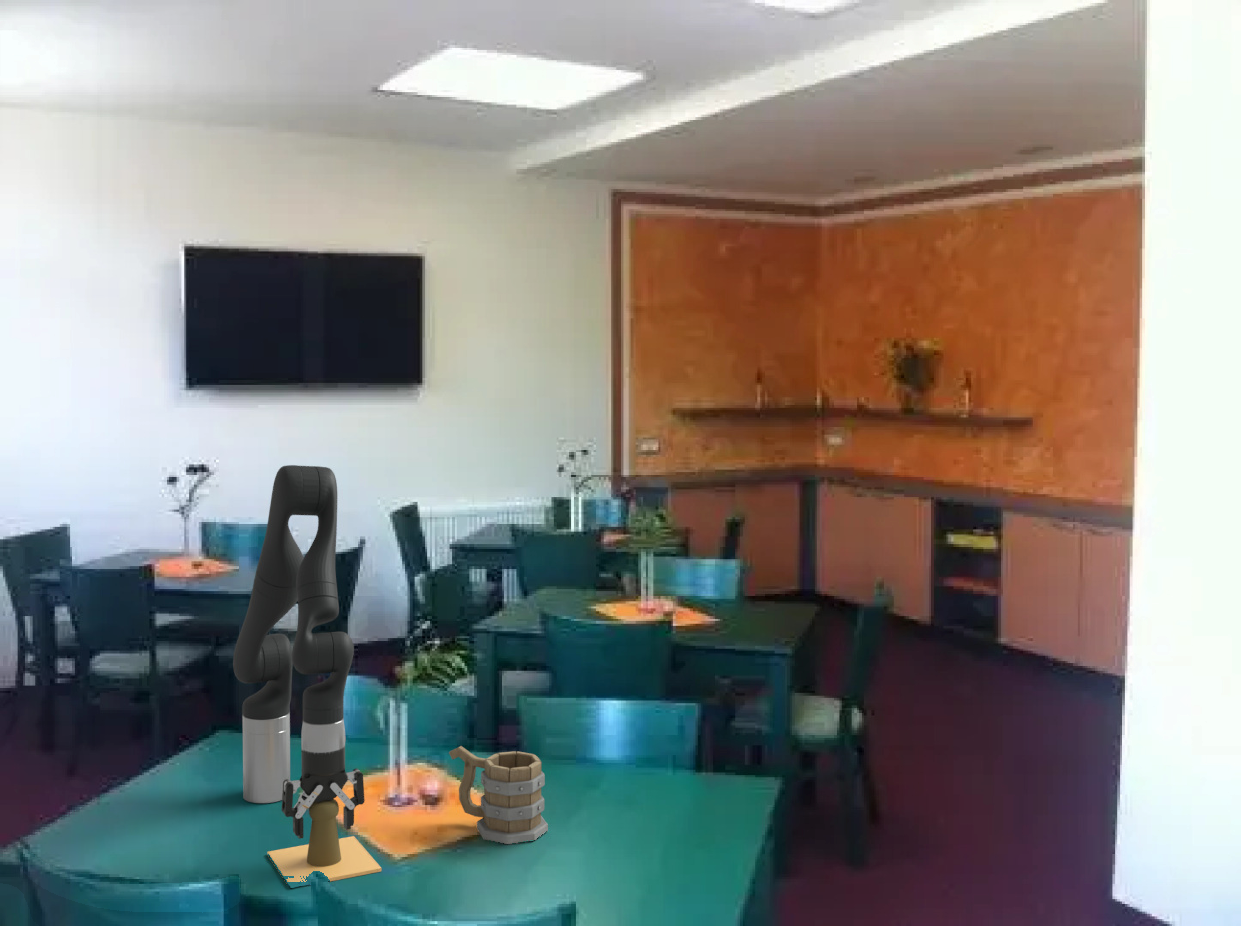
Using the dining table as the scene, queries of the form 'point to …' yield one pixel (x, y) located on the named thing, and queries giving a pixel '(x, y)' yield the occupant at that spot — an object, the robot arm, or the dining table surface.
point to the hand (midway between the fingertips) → (323, 832)
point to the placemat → (350, 865)
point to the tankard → (505, 795)
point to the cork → (323, 834)
